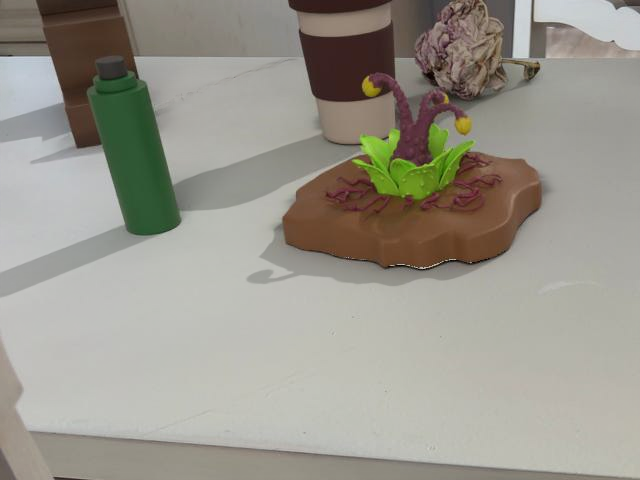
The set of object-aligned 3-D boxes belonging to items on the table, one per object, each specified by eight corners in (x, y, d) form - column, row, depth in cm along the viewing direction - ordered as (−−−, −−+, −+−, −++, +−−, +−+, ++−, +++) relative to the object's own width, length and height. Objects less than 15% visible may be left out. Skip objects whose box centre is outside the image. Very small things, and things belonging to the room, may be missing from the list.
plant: (359, 167, 94) (341, 35, 87) (563, 182, 88) (562, 41, 81) (251, 256, 80) (219, 107, 73) (485, 280, 74) (475, 120, 67)
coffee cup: (346, 114, 107) (324, -50, 97) (427, 123, 103) (412, -47, 93) (290, 144, 100) (260, -28, 91) (374, 155, 96) (352, -24, 87)
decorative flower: (510, 25, 115) (389, 13, 108) (558, -18, 106) (429, -33, 99) (521, 119, 116) (402, 114, 109) (570, 84, 107) (443, 76, 100)
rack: (156, 135, 105) (124, 12, 98) (77, 148, 103) (38, 24, 96) (143, 102, 115) (113, -12, 107) (70, 114, 113) (35, -2, 105)
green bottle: (149, 239, 84) (102, 70, 75) (115, 228, 86) (66, 63, 78) (192, 220, 86) (151, 55, 78) (158, 210, 89) (114, 48, 80)
